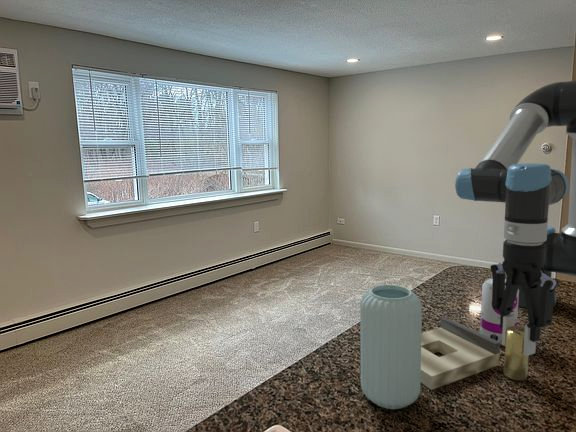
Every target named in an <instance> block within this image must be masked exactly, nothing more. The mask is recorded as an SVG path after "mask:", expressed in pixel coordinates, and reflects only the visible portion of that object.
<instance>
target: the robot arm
mask: <svg viewBox="0 0 576 432" xmlns="http://www.w3.org/2000/svg"><path fill="white" fill-rule="evenodd" d="M550 127H566V128H565V129H566V130H565V131H566V132H565V133H566V135H568V136H569V137H570V138H571V139H572V143H571V146H572V147H571V163H570V180H569V178H568V177H567V175H566V174H565V173H563V171H561V170H559V169H554V168H551V166H550V165H549V164H546V163H532V162H531V163H519V162H520V160H521V159H522V158H523V156H524V154H525V153H526V152H527V150H528V149H529V147H530V146H531V144H532V143H533V141H534V139H535V138H536V136H537V135H539V134H540V133H542V132H544V130H546V128H550ZM454 189H455V192H456V195H457V196H458V197H459V198H460V199H463V200H469V201H474V202H487V203H489V202H491V203H492V202H493V203H503V204H505V205H504V206H505V209H504V211H505V212H504V227H503V238H504V239H505V240H504V241H503V245H502V258H503V261H502V263H500V262H499V263H496V264H491V265H490V266H489V267H490V271H491V274H492V278H493V284H492V308H493V309H496V310H498V311H499V313H500V327H501V328H502V329H503V331H502V345H501V346H504V347H506V335H507V328H509V327H513V326H514V325H515V315H514V314H510V313H511V312H514V311H513V310H512V309H513V305H514V302H515V298H516V295H517V291H518V289H519V301H518V307H519V308H520V307H521V308H525V309H526V312H527V314H526V315H527V318H528V324H525V325H524V328H525V332H524V349H523V355H525V356H529V357H530V356H532V355H534V354H536V349H537V348H536V347H537V342H539V340H540V339H541V329H542V328H545V327H547V326H550V325H552V323H553V321H552V320H553V313H554V312H553V310H554V307H555V306H557V299H558V298H557V293H556V289H557V287H558V285H559V282H560V281H559V279H557V278H552V273H556V274H561V275H562V274H563V275H568V276H571V277H572V276H573V277H576V80H568V81H558V82H553V83H550V84H547V85H544V86H542V87H540V88H538V89H536V90H535V91H533V92H531V93H529V94H528V95H526V96H525V97H524V98H523V99H521V100H520V102H518V103H517V104H516V105H515V107H514V108H513V109H512V111H511V112H510V115H509V121H508V123H507V124H506V126H504V128H503V129H502V131H501V132H500V133H499V135H498V136H497V138H496V139H495V141H493V143H492V145H491V146H490V147H489V149H488V150H487V152H486V153H485V155H484V156H483V157H482V158H481V160H480V161H479V163H478V164H476V166H475V168H472V167H469V168H463V169H461V170H459V171H458V172H457V174H456V177H455V182H454ZM568 192H569V200H568V201H569V203H568V220H567V221H568V222H567V224H566V225H564V226H563V227H562V228H561V229H560V233H559V232H556V229H555V227H554V226H549V225H548V223H549V220H548V219H549V208H550V207H549V206H550V205H551V206H552V205H555V204H557V203H558V202H560V201H561V200H562V199H564V198H565V197H566V196H567V194H568ZM505 279H506V282H505ZM505 286H506V288H505Z"/></svg>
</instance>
